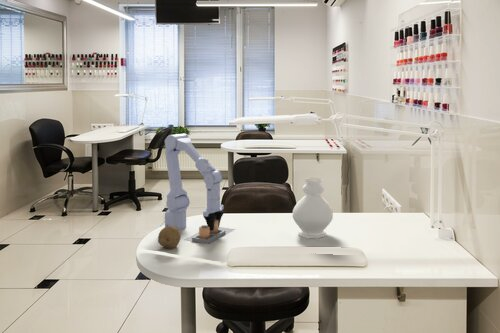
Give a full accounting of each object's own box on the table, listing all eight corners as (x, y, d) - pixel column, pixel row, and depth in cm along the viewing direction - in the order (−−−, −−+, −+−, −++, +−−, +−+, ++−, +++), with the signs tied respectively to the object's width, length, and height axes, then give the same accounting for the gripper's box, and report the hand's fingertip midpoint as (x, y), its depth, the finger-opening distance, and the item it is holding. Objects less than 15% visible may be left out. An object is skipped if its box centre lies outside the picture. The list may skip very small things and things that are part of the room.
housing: (183, 242, 223) (183, 235, 223) (211, 228, 245) (211, 221, 244) (208, 246, 218) (208, 239, 218) (235, 231, 239) (235, 224, 239)
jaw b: (206, 233, 229) (206, 219, 228) (210, 230, 233) (210, 217, 232) (216, 234, 228) (215, 220, 227) (220, 231, 232) (219, 218, 231)
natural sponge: (167, 255, 208) (166, 230, 206) (153, 250, 214) (153, 226, 212) (185, 249, 214) (184, 226, 212) (171, 245, 220) (170, 222, 218)
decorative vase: (330, 241, 226) (332, 184, 221) (289, 238, 230) (290, 182, 225) (333, 229, 243) (335, 176, 239) (295, 227, 247) (296, 175, 242)
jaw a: (197, 240, 222) (197, 226, 221) (202, 237, 226) (202, 224, 225) (206, 242, 220) (206, 227, 219) (211, 239, 224) (211, 225, 223)
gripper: (213, 202, 220) (213, 234, 222) (229, 195, 232) (229, 225, 235) (198, 201, 223) (199, 232, 225) (215, 194, 235) (215, 223, 238)
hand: (213, 228), depth 230 cm, fingers closed on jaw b, 4 cm apart
